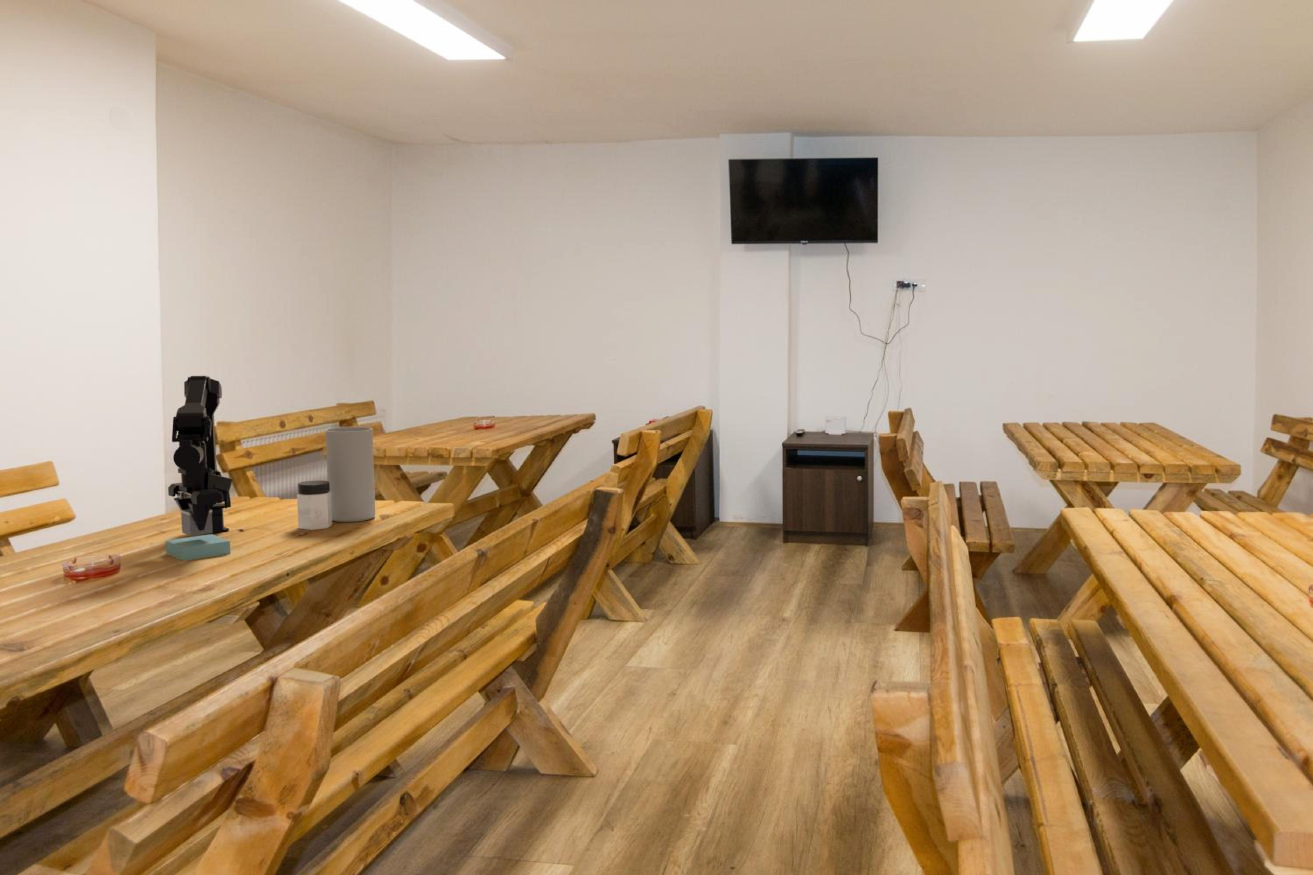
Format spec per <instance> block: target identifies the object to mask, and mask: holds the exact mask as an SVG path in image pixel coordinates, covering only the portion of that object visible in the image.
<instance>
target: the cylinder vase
mask: <svg viewBox="0 0 1313 875" xmlns="http://www.w3.org/2000/svg"><path fill="white" fill-rule="evenodd" d="M324 432H325V450H326V452H325V453H326V475H327V480H326V481H328V482H329V483H330V491H331V508H332V522H333V521H334V522H338V523H355V522H356V523H357V522H364V521H368V520H372V519H373V518H375V516H376V495H375V494H376V492H375V468H374V467H375V466H374V465H375V463H374V434H373V433H374V432H373V428H372V427H368V426H345V427H344V426H341V427H332V428H331V427H330V428H328V429H327V428H326V429H325V431H324Z"/></svg>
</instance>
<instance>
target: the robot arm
mask: <svg viewBox="0 0 1313 875" xmlns="http://www.w3.org/2000/svg"><path fill="white" fill-rule="evenodd" d="M183 384H184V385H183V386H184V387H183V390H184V391H183V392H184V398H185V401H184V402H185V403H184V405H182V406H181V407H179V408H177V410H176V414H175V416H173V418H172V431H171V433H172V434H171V435H172V436H171V442H172V443H178V447H177V449H176V450H175V451H174V453H173V462H174V464H175V465H176V467H177V473H178V474H180V478H181V482H175V483H171V484H170V485H169V486H168V487H167V490H168V493H167V494H168V496H169V497H173V500H174V501H175V503H176V505H177V506H178V508H179V510H182V509H191V512H192V514H193V517H194V519H195V522H196V524H197V526H198V529H199V530H200V531H201V530H204V529H205V525H206V521H207V517H208V514H209V511H210V509H211V510H212V528H213V533H212V534H214V533H220V532H229V531H230V528H228V527H225V524H224V522H225V521H224V520H225V518H224V509H228V508H232V503H231V502H232V501H231V500H232V499H231V493H230V490H231V487H232V484H233V480H234V478H230V477H227V476H223V475H222V473H221V471H219V470H218V468H217V467H218V466H217V465H218V464H217V448H216V447H217V446H216V431H215V429H216V428H215V413H216V411H217V409H218V407H219V406H220V405H221V404H220V402H221V400H220V399H222V397H223V390H222V388H223V387H222V384H221V383H220V381H219V380H216V379H213V378H211V377H210V376H208V375H191V376H187V379H186V380H184V382H183Z"/></svg>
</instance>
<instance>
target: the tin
mask: <svg viewBox="0 0 1313 875" xmlns="http://www.w3.org/2000/svg"><path fill="white" fill-rule="evenodd" d="M179 510H180V509H179ZM180 515H181V517H180V518H181V532H182V534H185V535H187V536H190V537H195V536H202V535H209V534H214V533H213V528H212V510H211V509H210V511H209V514H208V517H207V521H206V525H205V529H204V530H201V531H200V530H199V529H198V526H197V524H196V522H195V519H194V517H193V514H192V512H191V509H182V510H180Z"/></svg>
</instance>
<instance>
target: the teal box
mask: <svg viewBox="0 0 1313 875" xmlns="http://www.w3.org/2000/svg"><path fill="white" fill-rule="evenodd" d="M165 553H166V554H167V555H169V556H170V557H171V556H172V557H174V558H176V559H178V560H181V561H183V562H184V561H186V562H187V561H192V560H197V559H205V558H210V557H211V558H212V557H218V556H225V555H230V554H231V540H229V539H225V538H223V537H220V536H218V535H216V534H214V533H209V534H201V535H194V536H190V537H182V538H176V539H169V540H165Z"/></svg>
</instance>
